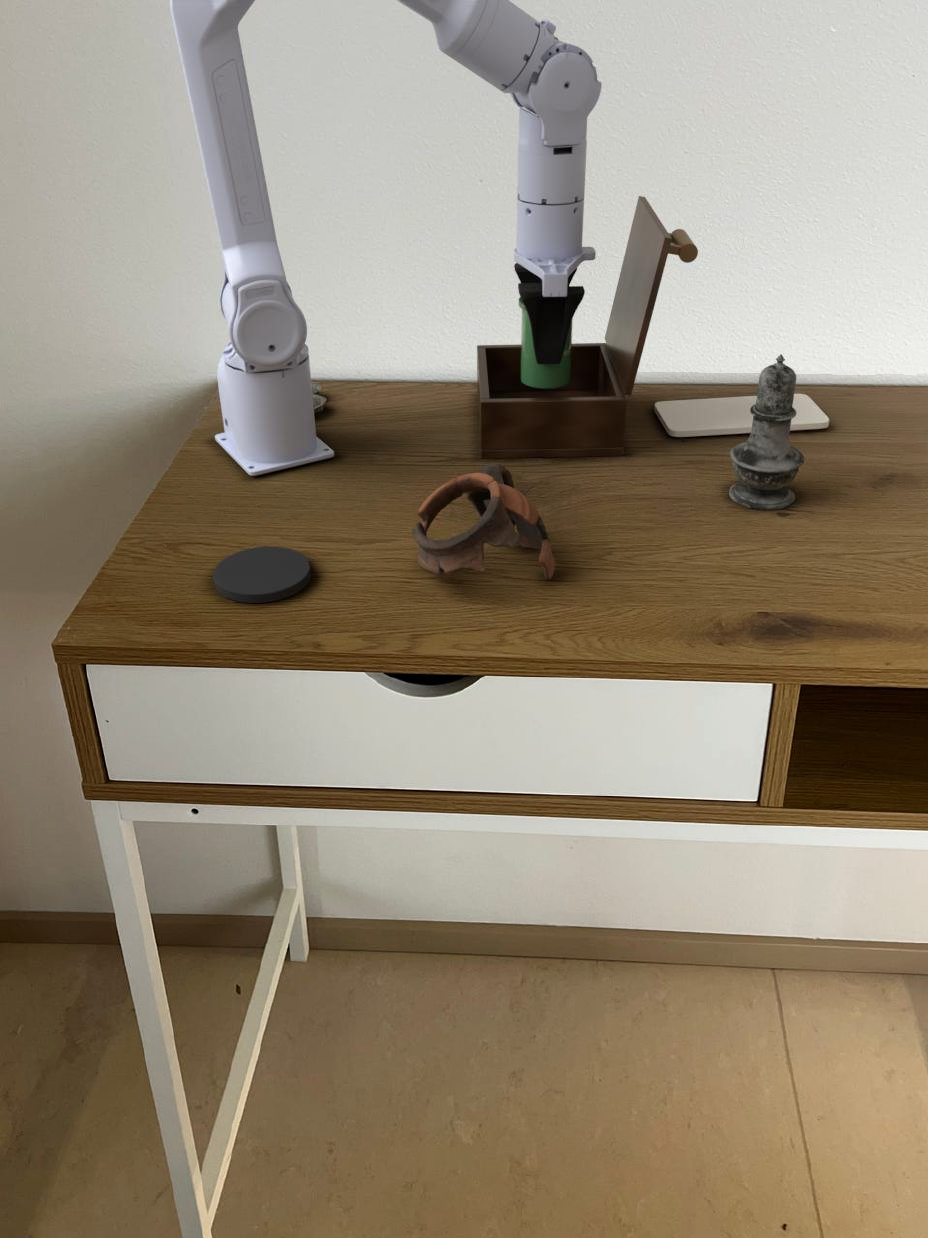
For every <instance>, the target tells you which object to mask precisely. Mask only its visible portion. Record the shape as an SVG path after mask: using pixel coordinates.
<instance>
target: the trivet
mask: <svg viewBox="0 0 928 1238" xmlns="http://www.w3.org/2000/svg"><path fill="white" fill-rule="evenodd" d="M311 577H312V572H311V564H310V561H309V559H308V558H307V557H306V556H305V555H304V554H302V553H301V552H299V551H297V550H295V549H292V548H287V547H282V546H257V547H250V548H247V549H244V550H240V551H237V552H235V553H232V554H230V555H228V556H226V557H225V558H223V559H222V560H221V561H220V562H219V563H218V564H217V565H216V567H215V568H214V570H213V582H214V587H215V589H216V591H217V592H218V593H219V594H220V595H221V596H223V597H224V598H226V599H228V600H231V601H234V602H238V603H244V604H265V603H266V604H267V603H273V602H277V601H281V600H284V599H287V598H290V597H292V596H294V595H296V594H297V593H300V592H301V591H302V590H303V589H304V588H305V587H306V586H307V585H308V584H309V582H310V580H311Z"/></svg>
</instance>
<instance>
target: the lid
mask: <svg viewBox="0 0 928 1238" xmlns="http://www.w3.org/2000/svg"><path fill="white" fill-rule="evenodd" d="M669 255H675V256H678V258H679V259H680V261H682V262H683V263H686V264H689V263H692V262H694V261H695V260H696V259H697V258H698V255H699V250H698V246H696V244H695V243H694V241H693V240H692V239H691V237H690V236H689V235H688V232H687V231H686V230H684V229H682V228H677V229H674V230H673V231H672V232H668V230H667V229H666V227H665V225H664V224H663V222H662V221H661V219H660V218H659V216H658V215H657V213H656V212H655V211H654V208H653V207H652V205H651V204H650V202H649V201H648V199H647V198H646V196H642V195H639V196H638V198H637V202H636V206H635V209H634V214H633V219H632V222H631V227H630V231H629V234H628V239H627V243H626V248H625V252H624V256H623V261H622V264H621V268H620V273H619V277H618V280H617V286H616V289H615V293H614V297H613V301H612V305H611V310H610V313H609V314H610V315H609V319H608V322H607V326H606V330H605V335H604V341H605V343H606V344H607V347H608V350H609V352H610V355H611V358H612V361H613V364H614V367H615V369H616V372H617V375H618V378H619V381H620V384H621V386H622V389H623V392H624V395H626V396H630V397H631V396H632V394H633V389H634V387H635V383H636V378H637V374H638V371H639V367H640V363H641V359H642V355H643V353H644V352H643V351H644V348H645V344H646V340H647V336H648V332H649V328H650V325H651V321H652V316H653V314H654V309H655V305H656V302H657V298H658V294H659V291H660V286H661V282H662V279H663V275H664V271H665V267H666V263H667V259H668V256H669Z"/></svg>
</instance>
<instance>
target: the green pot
mask: <svg viewBox="0 0 928 1238" xmlns="http://www.w3.org/2000/svg"><path fill="white" fill-rule="evenodd" d="M517 304H518V307H519V308H520V309H521V328H520V329H521V331H520V332H521V333H520V334H521V335H520V345H521V382H522V383H523V384H525V385H527V386H530V387H534V388H543V389H550V388H558V387H562V386H565V385H567V384H568V383H569V382H570V374H571V350H572V344H573V323H574V322H573V321H574V320H573V319H574V317H573V318H572V321H571V324H570V327H569V331H568V335H567V340H566V344H565V348H564V353H563V356H562V359H561V362H560V364H537V361H536V357H535V352H534V346H533V339H532V331H531V324H530V319H529V316H528V313H527V310H526V307H525V305H524V303H523V301H522V299H521V297H520V296H519V297H518V303H517Z"/></svg>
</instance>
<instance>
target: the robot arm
mask: <svg viewBox="0 0 928 1238" xmlns="http://www.w3.org/2000/svg"><path fill="white" fill-rule="evenodd" d="M255 1H256V0H169V11H170V15H171V20H172V25H173V29H174V34H175V39H176V43H177V48H178V53H179V57H180V62H181V67H182V72H183V77H184V82H185V85H186V91H187V95H188V100H189V105H190V111H191V115H192V119H193V124H194V129H195V133H196V138H197V143H198V148H199V153H200V158H201V161H202V167H203V171H204V176H205V181H206V185H207V190H208V195H209V199H210V205H211V209H212V213H213V220H214V224H215V228H216V233H217V238H218V243H219V249H220V250H219V251H220V257H221V263H222V268H223V282H222V285H221V289H220V292H219V306H220V311H221V314H222V317H223V318H224V320H225V323H226V325H227V329H228V337H229V341H228V342H227V343H226V347H224V349H223V351H222V356H221V358H220V360H219V362H218V365H217V369H216V380H217V386H218V394H219V401H220V409H221V416H222V424H223V431H224V432H220V433H217V434H215V435H214V440H215V441H216V443H218V445H219V446H221V448H222V449H223V450H224V451H225V452H226V453H227V454H228V455H229V456H230V457H231V458H232V459H233V460H234V461H235V462H236V463H237V464H238V465H239V466H240V467H241V468H242V470H243V471H245V473H247V474H248V475H249V476H250V477H256V476H260V475H265V474H269V473H273V472H278V471H281V470H286V469H289V468H294V467H298V466H303V465H307V464H310V463H314V462H319V461H323V460H327V459H331V458H333V457H335V450H333V449H332V448H330V447H329V446H328V444H326V443H325V442H323V441H322V439H320V438H319V437H318V436H317V430H316V429H317V428H316V419H315V414H314V406H313V395H312V384H311V382H312V375H311V365H310V364H311V363H310V355H309V353H310V351H309V347H308V345H307V344H306V341H307V336H308V325H307V321H306V317H305V315H304V313H303V311H302V309H301V308H300V307H299V306H298V305H299V304H297V303H296V300H295V299H294V297H293V291H292V289H291V286H290V284H289V282H288V281H287V275H286V271H285V269H284V264H283V260H282V256H281V253H280V249H279V245H278V240H277V236H276V230H275V224H274V218H273V214H272V209H271V203H270V196H269V192H268V186H267V181H266V175H265V170H264V165H263V159H262V152H261V148H260V142H259V136H258V131H257V125H256V120H255V115H254V110H253V105H252V98H251V94H250V88H249V83H248V76H247V71H246V66H245V60H244V55H243V49H242V43H241V39H240V33H239V24H240V22H241V21H242V19H243V18H244V17H245V15H246V14H247V13H248V11H249V10H250V9H251V7H252V5H253V4H254V3H255ZM396 1H397V2H399V3H400V4H402V5H403V6H405V7H407V8H408V9H409V10H411V11H412V12H415V13H416V14H418V16H421V17H422V18H424V19H425V20H427V21H429V22H430V24H431V25H432V26H433V27H432V28H433V29H434V34H435V37H436V43H437V46H438V49H439V51H440V52H442V53H443V54H445V55H446V56H448V57H449V58H451V59H452V60H454V61H455V62H457V63H458V64H460V65H461V66H463V67H465V68H466V69H467V70H469V71H470V72H472V73H473V74H475V75H476V76H478V77H479V78H481V79H482V80H484V81H485V82H487V83H488V84H490V85H491V86H492V87H494V88H495V89H496V90H497V89H498V91H501V92H502V93H504V94H510V97H511V99H512V100H513V102H514V104H516V105H517V107H519V108H518V109H519V110H518V139H517V171H516V172H517V174H516V177H517V179H516V181H517V182H516V247H515V248H514V249H513V260H514V262H515V263H514V265H513V268H514V272H515V274H516V275H517V278H518V280H519V281H520V283H517V285H518V286H517V290H518V294H519V298H520V297H521V299H522V301H523V303H524V305H525V307H526V310H527V313H528V316H529V319H530V324H531V331H532V339H533V346H534V352H535V357H536V361H537V364H560V362H561V359H562V356H563V353H564V348H565V344H566V340H567V335H568V331H569V327H570V324H571V321H572V318H573V319H574V316H575V314H576V311H577V309H578V308H579V306H580V304H581V303H582V301H583V299H584V296H585V293H586V292H585V291H586V290H585V288H584V285H571V283H572V280H573V278H574V276H575V274H576V273H577V271H578V267H579V266H580V265H582V263H583V262H586V261H594V260H596V253H597V251H596V249H595V247H592V246H583V238H584V237H583V233H584V211H585V190H586V169H587V167H586V166H587V147H588V145H587V144H588V141H587V134H588V133H587V132H588V118H589V115H590V114H591V113H592V111H593V110H594V108H595V107H596V105H597V103H598V101H599V99H600V96H601V93H602V85H603V84H602V82H601V81H599V80H598V74H597V68H596V66H594V64H593V62H594V61H593V59H592V58H591V56H590V55H589V54H588V53H587V52H586V51H585V50H584V49H583V48H581V47H579V46H577V45H574V44H571V43H568V42H565V41H562V40H559V37H557V36H555V32H556V30H557V26H556V25H555V24H554V23H552V21H550V20H548V19H545V18H543V19H542V20H540V21H538V20H537V19H535V18H534V17H533V16H532V15H530V14H529V13H527V12H526V11H524V10H523V9H522V8H520V7H518V6H517V5H516V4H515V3H514V2H512V1H510V0H396Z"/></svg>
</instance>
